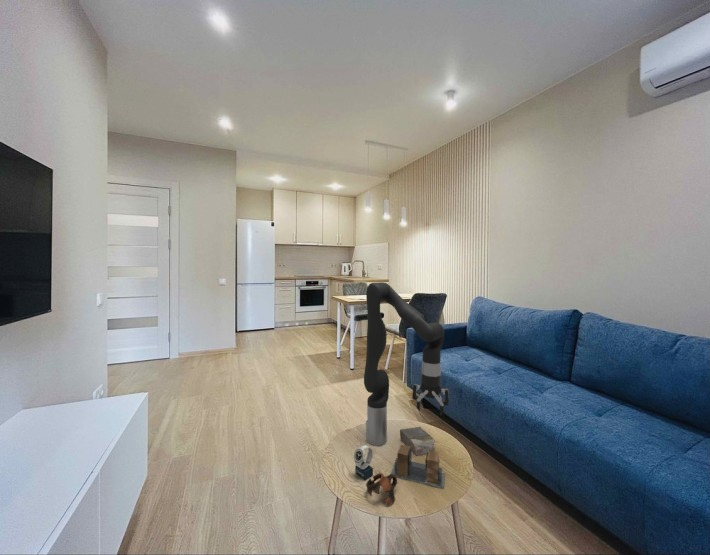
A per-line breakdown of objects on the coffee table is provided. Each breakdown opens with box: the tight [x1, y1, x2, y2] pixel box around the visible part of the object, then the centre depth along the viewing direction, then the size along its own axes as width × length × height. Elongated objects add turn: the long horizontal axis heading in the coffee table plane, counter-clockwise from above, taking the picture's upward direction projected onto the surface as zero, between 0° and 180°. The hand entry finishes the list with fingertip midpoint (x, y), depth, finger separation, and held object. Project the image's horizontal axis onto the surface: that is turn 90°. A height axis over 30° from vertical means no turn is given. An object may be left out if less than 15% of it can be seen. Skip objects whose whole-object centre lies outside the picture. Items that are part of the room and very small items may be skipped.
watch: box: [353, 444, 374, 482], centre depth 117 cm, size 6×8×11 cm
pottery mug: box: [365, 472, 398, 507], centre depth 107 cm, size 12×10×8 cm
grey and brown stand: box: [390, 443, 446, 490], centre depth 117 cm, size 20×8×9 cm, turn 69°
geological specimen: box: [399, 426, 436, 457], centre depth 138 cm, size 11×6×15 cm
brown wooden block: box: [425, 450, 440, 483], centre depth 115 cm, size 5×6×8 cm
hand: (430, 411), depth 121 cm, fingers open, 8 cm apart
